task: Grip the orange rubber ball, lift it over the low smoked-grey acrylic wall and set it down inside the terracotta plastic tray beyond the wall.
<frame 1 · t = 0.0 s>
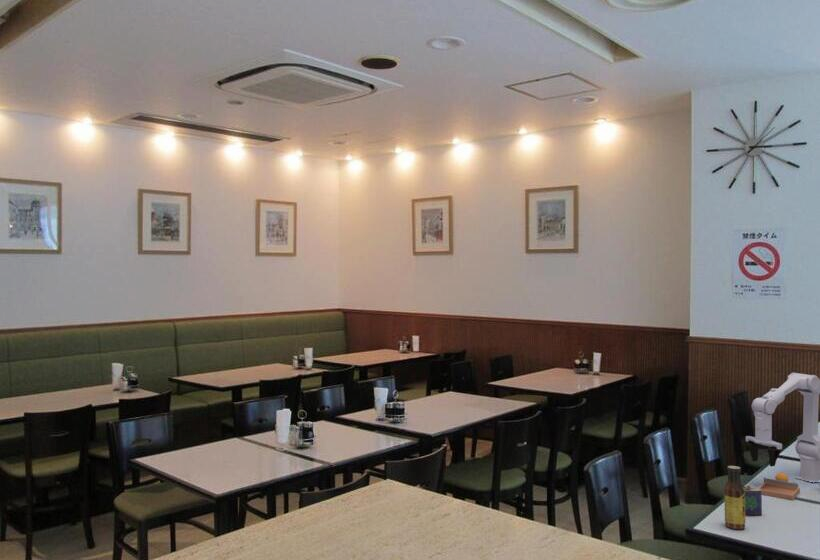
hand: (763, 463, 262), 10 cm above the table, tool pointing down, fingers open, 7 cm apart
ball: (781, 478, 268), point 2 cm above the table
sauce bottle: (734, 527, 223), on the table
acrylic wall: (780, 488, 263), on the table
flask: (748, 515, 234), on the table
tray: (778, 493, 257), on the table
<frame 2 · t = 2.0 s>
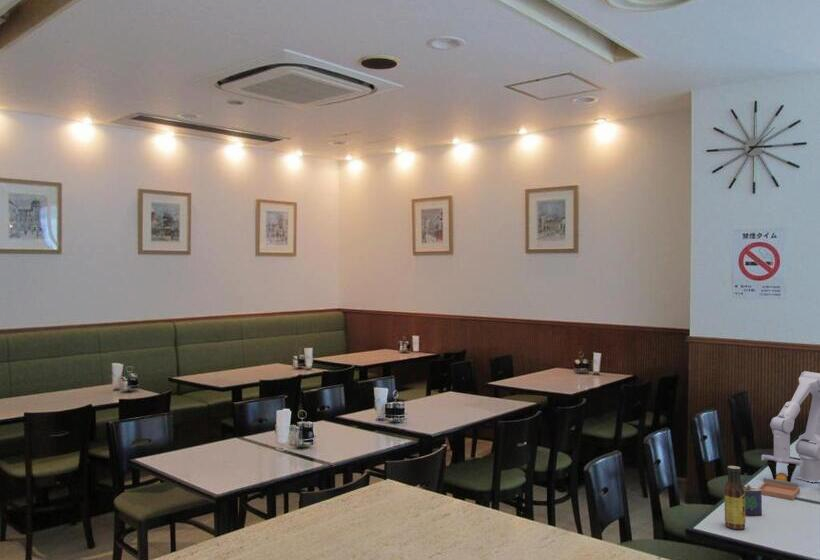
hand: (781, 480, 268), 1 cm above the table, tool pointing down, fingers closed on ball, 5 cm apart
ball: (781, 478, 268), point 2 cm above the table, touching gripper
everything else where it was.
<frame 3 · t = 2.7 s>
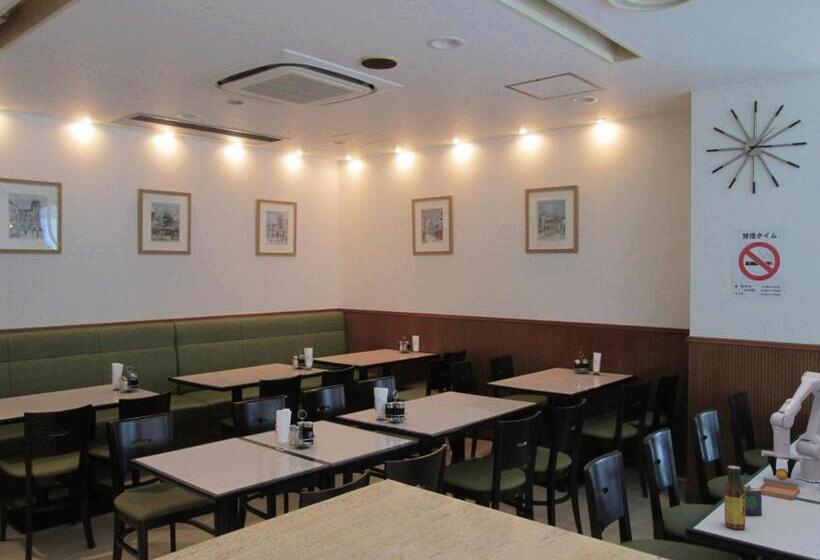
hand: (782, 476, 268), 3 cm above the table, tool pointing down, fingers closed on ball, 5 cm apart
ball: (782, 474, 268), point 4 cm above the table, touching gripper
everything else where it was.
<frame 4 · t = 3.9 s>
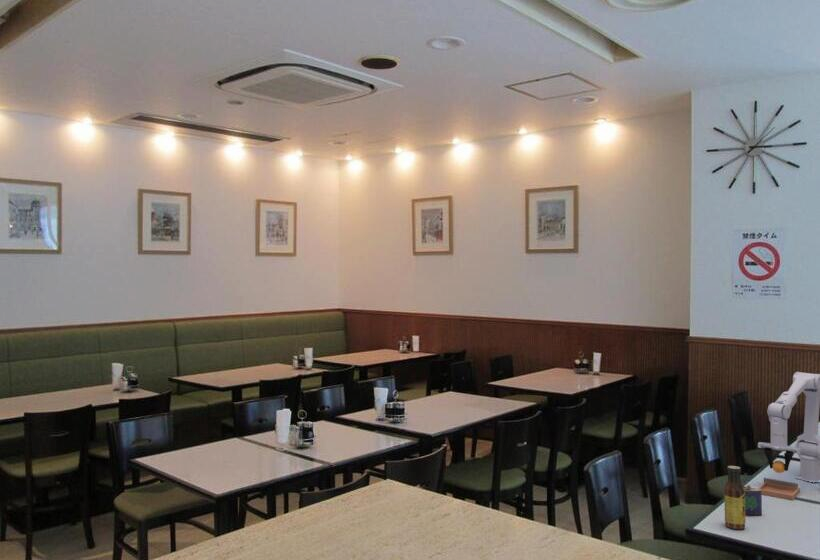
hand: (778, 469, 259), 9 cm above the table, tool pointing down, fingers closed on ball, 5 cm apart
ball: (778, 466, 259), point 9 cm above the table, touching gripper
everything else where it was.
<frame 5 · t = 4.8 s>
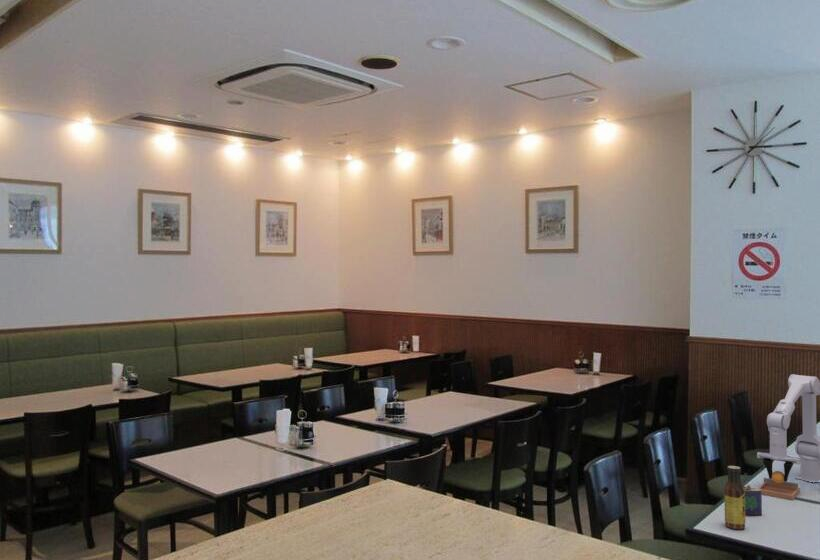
hand: (778, 479, 257), 5 cm above the table, tool pointing down, fingers closed on ball, 5 cm apart
ball: (778, 477, 257), point 6 cm above the table, touching gripper
everything else where it was.
when the fingers open (2 cm above the table, at t = 5.8 s): ball stays where it is, resting on tray.
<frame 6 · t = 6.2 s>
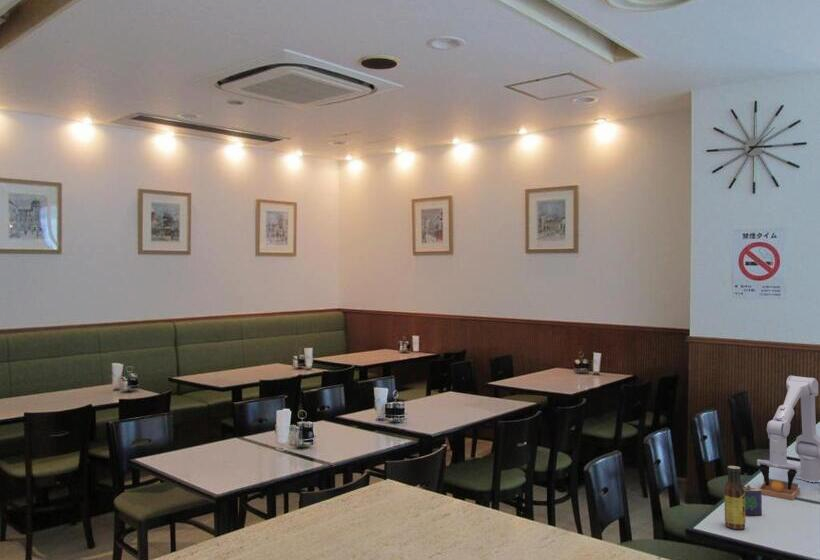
hand: (778, 486, 257), 2 cm above the table, tool pointing down, fingers open, 7 cm apart
ball: (777, 485, 257), point 3 cm above the table, tilted 9°, touching tray
everything else where it was.
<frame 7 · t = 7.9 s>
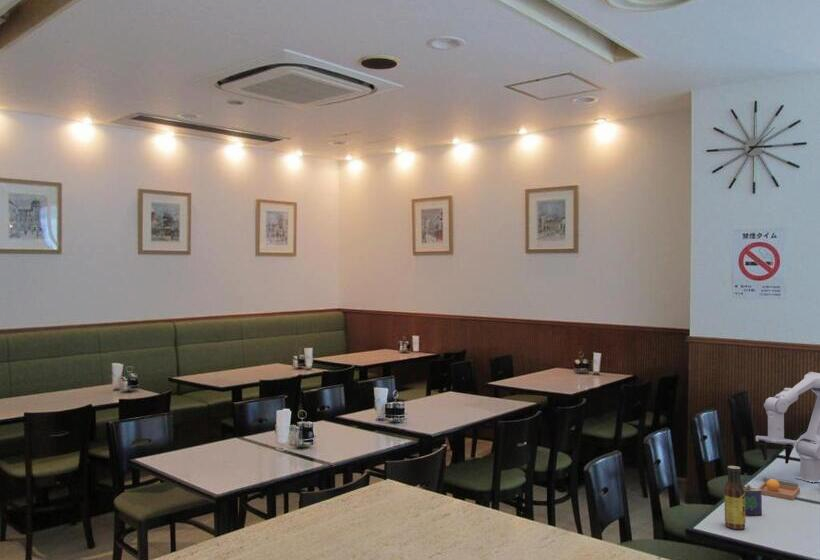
hand: (776, 461, 268), 9 cm above the table, tool pointing down, fingers open, 7 cm apart
ball: (773, 485, 258), point 3 cm above the table, tilted 47°, touching tray
everything else where it was.
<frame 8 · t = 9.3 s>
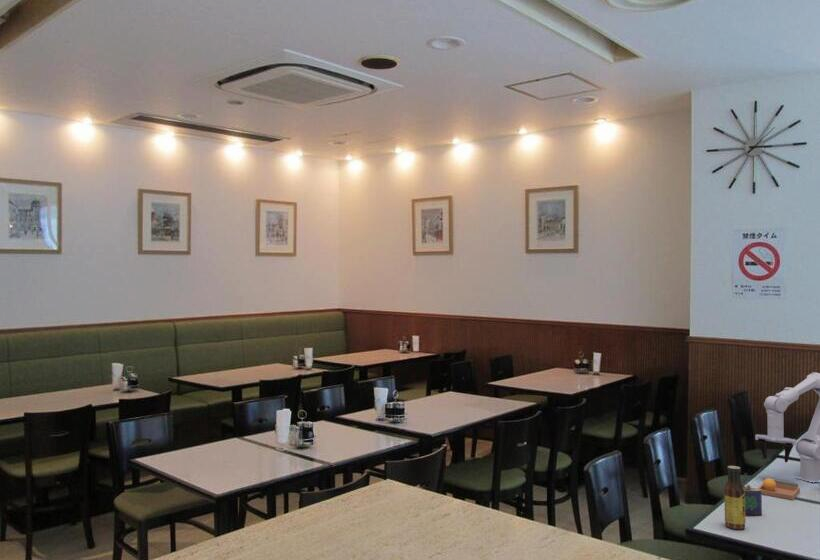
hand: (775, 460, 269), 9 cm above the table, tool pointing down, fingers open, 7 cm apart
ball: (769, 484, 259), point 3 cm above the table, tilted 78°, touching tray
everything else where it was.
at the end: ball inside the target area on the tray (3.3 cm from its centre), point 2.7 cm above the tray's base; the gripper is holding nothing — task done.
